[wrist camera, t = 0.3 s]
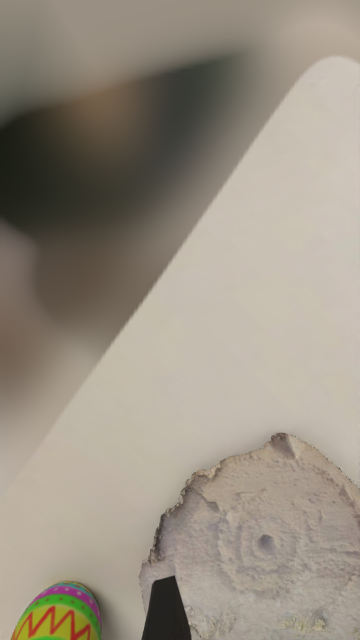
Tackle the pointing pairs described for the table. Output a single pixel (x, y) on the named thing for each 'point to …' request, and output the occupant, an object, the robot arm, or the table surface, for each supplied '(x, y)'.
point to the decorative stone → (264, 547)
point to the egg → (61, 615)
